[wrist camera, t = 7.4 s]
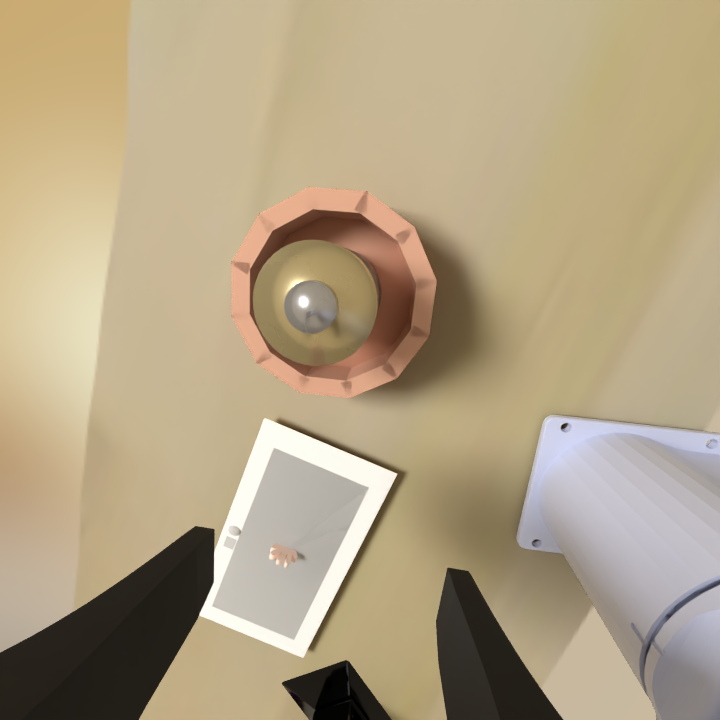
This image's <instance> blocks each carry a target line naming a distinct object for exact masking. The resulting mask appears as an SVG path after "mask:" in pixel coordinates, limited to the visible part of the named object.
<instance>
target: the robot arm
mask: <svg viewBox="0 0 720 720" xmlns="http://www.w3.org/2000/svg"><path fill="white" fill-rule="evenodd" d="M564 423H568V426H567V427H566V428H565V429H561V425H562V424H564ZM709 440H711V442H710V443H709V444H708V445H706V443H707V442H708V441H709ZM535 539H539V540H538V541H536V542H533V540H535ZM516 540H517V542H518V544H519V546H520V547H522V548H524V549H530V550H537V551H545V552H552V553H560V554H563V555H564V557H565V558H566V560H567V562H568V563H569V565H570V567H571V568H572V570H573V572H574V573H575V575H576V577H577V578H578V580H579V582H580V583H581V585H582V587H583V589H584V590H585V592H586V594H587V595H588V597H589V599H590V600H591V602H592V604H593V605H594V607H595V609H596V610H597V612H598V614H599V615H600V617H601V619H602V620H603V622H604V624H605V625H606V627H607V629H608V630H609V632H610V634H611V635H612V637H613V639H614V640H615V642H616V644H617V646H618V647H619V649H620V651H621V652H622V654H623V656H624V657H625V659H626V661H627V662H628V664H629V666H630V667H631V669H632V671H633V672H634V674H635V676H636V677H637V679H638V681H639V682H640V684H641V686H642V687H643V689H644V691H645V692H646V694H647V696H648V697H649V699H650V700H651V703H652V705H653V707H654V709H655V712H656V720H720V433H715V432H706V431H697V430H688V429H679V428H670V427H661V426H652V425H644V424H635V423H626V422H617V421H608V420H599V419H590V418H581V417H572V416H563V415H550V416H547V417H546V418H545V419H544V421H543V425H542V429H541V433H540V437H539V442H538V446H537V450H536V454H535V459H534V463H533V467H532V472H531V476H530V480H529V484H528V489H527V493H526V497H525V501H524V506H523V510H522V514H521V519H520V523H519V527H518V531H517V536H516ZM213 583H214V529H210V528H204V527H198V526H195V527H194V528H192V529H191V530H190V531H188V532H187V533H185V534H184V535H183V536H181V537H180V538H179V539H177V540H176V541H175V542H173V543H172V544H171V545H169V546H168V547H167V548H165V549H164V550H163V551H161V552H160V553H159V554H157V555H156V556H155V557H153V558H152V559H150V560H149V561H148V562H146V563H145V564H144V565H142V566H141V567H139V568H138V569H137V570H135V571H134V572H132V573H131V574H130V575H128V576H127V577H125V578H124V579H123V580H121V581H120V582H118V583H117V584H115V585H114V586H112V587H111V588H109V589H108V590H106V591H105V592H103V593H102V594H100V595H99V596H97V597H96V598H94V599H93V600H91V601H90V602H88V603H87V604H85V605H84V606H82V607H80V608H79V609H77V610H76V611H74V612H72V613H71V614H69V615H67V616H66V617H64V618H62V619H61V620H59V621H57V622H56V623H54V624H52V625H50V626H49V627H47V628H45V629H43V630H42V631H40V632H38V633H36V634H35V635H33V636H31V637H30V638H27V639H25V640H24V641H22V642H20V643H18V644H16V645H14V646H12V647H10V648H8V649H6V650H4V651H3V652H1V653H0V720H139V718H140V716H141V714H142V713H143V711H144V709H145V707H146V705H147V704H148V702H149V700H150V699H151V697H152V695H153V694H154V692H155V690H156V688H157V687H158V685H159V683H160V682H161V680H162V678H163V677H164V675H165V673H166V672H167V670H168V668H169V666H170V665H171V663H172V661H173V660H174V658H175V656H176V655H177V653H178V651H179V650H180V648H181V646H182V644H183V643H184V641H185V639H186V638H187V636H188V634H189V632H190V631H191V629H192V627H193V625H194V624H195V622H196V620H197V618H198V616H199V614H200V612H201V610H202V608H203V606H204V603H205V601H206V599H207V597H208V595H209V592H210V590H211V588H212V586H213ZM436 628H437V646H438V661H439V669H440V676H441V682H442V689H443V695H444V702H445V708H446V715H447V720H563V719H562V717H561V716H560V715H559V714H558V712H557V711H556V709H555V708H554V707H553V705H552V704H551V703H550V701H549V700H548V698H547V697H546V695H545V694H544V693H543V691H542V690H541V688H540V687H539V686H538V684H537V683H536V681H535V680H534V678H533V677H532V675H531V674H530V672H529V671H528V669H527V668H526V666H525V665H524V663H523V662H522V660H521V659H520V657H519V656H518V654H517V653H516V651H515V649H514V648H513V646H512V645H511V643H510V641H509V640H508V638H507V637H506V635H505V633H504V632H503V630H502V628H501V627H500V625H499V623H498V622H497V620H496V618H495V617H494V615H493V613H492V612H491V610H490V608H489V606H488V605H487V603H486V601H485V599H484V598H483V596H482V594H481V592H480V590H479V589H478V587H477V585H476V583H475V581H474V579H473V578H472V576H471V574H470V573H469V571H465V570H458V569H452V568H447V573H446V578H445V582H444V587H443V592H442V596H441V601H440V606H439V610H438V615H437V620H436Z"/></svg>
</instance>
